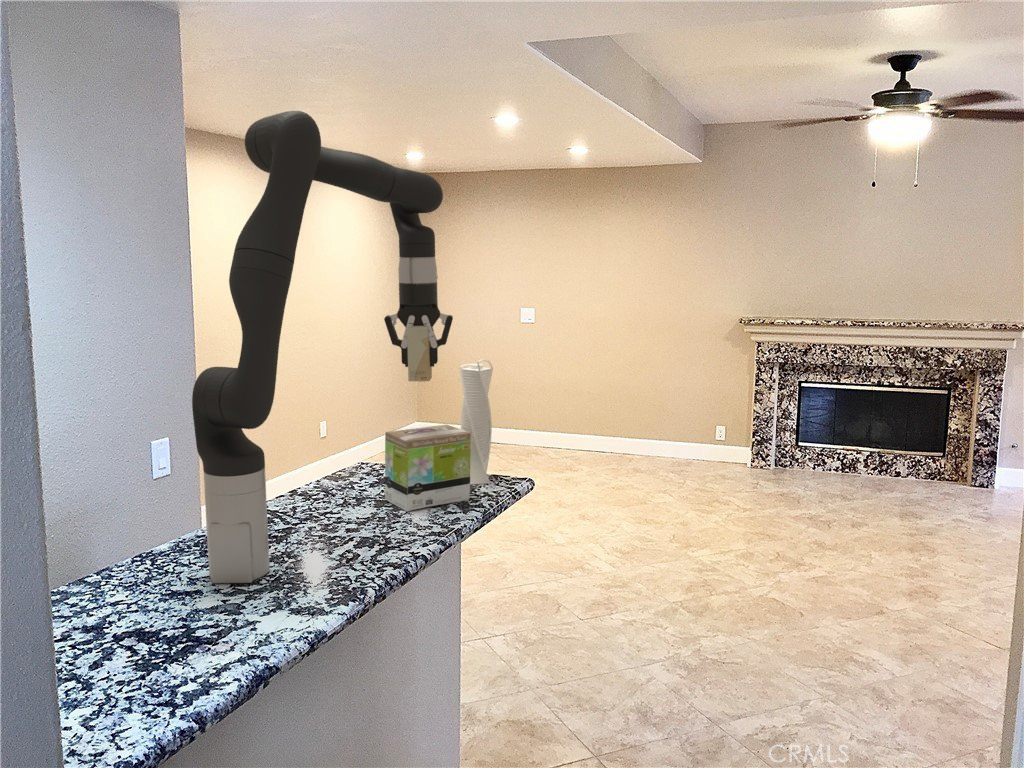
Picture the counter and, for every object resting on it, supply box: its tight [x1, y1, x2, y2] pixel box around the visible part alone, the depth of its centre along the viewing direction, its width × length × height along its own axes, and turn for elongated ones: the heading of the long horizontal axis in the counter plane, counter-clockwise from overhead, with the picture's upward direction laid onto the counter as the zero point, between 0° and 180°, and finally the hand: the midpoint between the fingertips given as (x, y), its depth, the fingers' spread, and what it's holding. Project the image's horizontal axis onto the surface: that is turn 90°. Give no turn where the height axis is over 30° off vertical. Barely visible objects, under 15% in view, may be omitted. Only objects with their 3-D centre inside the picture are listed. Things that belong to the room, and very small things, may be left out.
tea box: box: [384, 424, 471, 512], centre depth 171 cm, size 15×10×15 cm
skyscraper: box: [458, 358, 494, 486], centre depth 184 cm, size 8×8×28 cm
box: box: [407, 326, 433, 382], centre depth 166 cm, size 5×4×11 cm
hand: (420, 365), depth 166 cm, fingers closed on box, 4 cm apart
